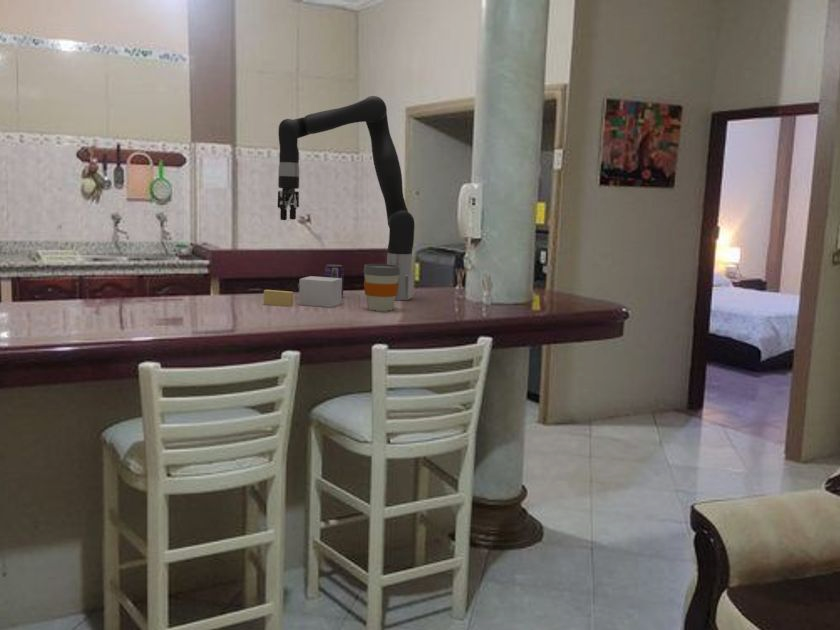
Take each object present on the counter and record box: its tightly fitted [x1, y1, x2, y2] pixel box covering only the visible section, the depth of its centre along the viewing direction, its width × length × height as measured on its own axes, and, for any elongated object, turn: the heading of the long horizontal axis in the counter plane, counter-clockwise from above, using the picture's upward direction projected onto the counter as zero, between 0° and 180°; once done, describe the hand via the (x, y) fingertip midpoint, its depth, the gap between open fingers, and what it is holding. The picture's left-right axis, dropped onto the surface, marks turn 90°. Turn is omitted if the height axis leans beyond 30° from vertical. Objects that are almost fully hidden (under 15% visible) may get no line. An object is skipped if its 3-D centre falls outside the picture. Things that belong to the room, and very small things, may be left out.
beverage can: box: [324, 263, 345, 297], centre depth 296 cm, size 7×7×12 cm
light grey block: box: [297, 275, 343, 308], centre depth 277 cm, size 13×10×9 cm
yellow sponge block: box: [263, 289, 294, 307], centre depth 271 cm, size 10×2×5 cm, turn 76°
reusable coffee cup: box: [362, 263, 400, 312], centre depth 272 cm, size 12×13×15 cm
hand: (288, 219), depth 292 cm, fingers open, 8 cm apart
